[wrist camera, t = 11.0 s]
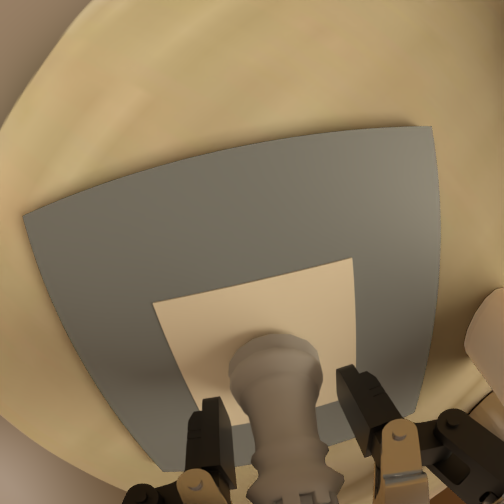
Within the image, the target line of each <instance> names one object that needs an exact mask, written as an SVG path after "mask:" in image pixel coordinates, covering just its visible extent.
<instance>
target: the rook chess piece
mask: <svg viewBox="0 0 504 504" xmlns="http://www.w3.org/2000/svg"><path fill="white" fill-rule="evenodd" d="M228 376H229V378H230V390H231V393H232V395H233V397H234V398H235V400H236V402H237V404H238V405H240V407H241V408H242V410H243V412H244V413H245V414H246V415H248V417H249V421H250V425H251V429H252V433H253V437H254V441H255V453H254V454H253V455H252V457H251V464H252V465H253V466H254V468H255V469H257V470H258V474H259V476H258V478H257V480H256V481H255V482H254V483H253V485H252V486H251V487H250V488H249V489H248V491H247V494H246V498H247V499H249V500H250V501H251V502H252V503H253V504H339V503H338V499H337V494H338V492H339V491H340V489H341V487H342V485H343V483H344V476H343V475H342V474H340V473H338V472H337V471H335V470H333V469H332V468H330V467H328V466H327V465H326V463H325V457H326V455H327V453H328V451H329V449H328V446H327V444H326V443H324V442H322V441H320V438H319V434H318V428H317V418H316V408H315V407H316V402H317V400H318V397H319V394H320V393H319V392H320V389H321V386H322V383H323V372H322V368H321V364H320V360H319V356H318V352H317V350H316V349H315V348H314V347H313V346H312V345H311V344H310V343H309V342H308V341H307V340H305V339H302V338H299V337H296V336H294V335H291V334H268V335H265V336H261V337H258V338H255V339H252V340H251V341H249V342H248V343H246V344H245V345H244V346H242V347H241V348H239V349H238V350H237V351H236V352H235V354H234V356H233V357H232V359H231V360H230V362H229V372H228Z"/></svg>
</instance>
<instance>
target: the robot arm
mask: <svg viewBox="0 0 504 504" xmlns="http://www.w3.org/2000/svg"><path fill="white" fill-rule="evenodd" d="M336 392H337V397H338V401H339V404H340V406H341V408H342V410H343V412H344V414H345V416H346V419H347V421H348V423H349V425H350V427H351V429H352V431H353V434H354V436H355V438H356V440H357V442H358V444H359V446H360V449H361V451H362V453H363V455H364V457H365V458H366V457H368V456H371V455H372V457H373V459H374V461H375V463H374V485H373V502H372V504H429V487H428V477H427V474H426V473H425V472H423V470H422V466H426V467H427V468H428V469H429V470H430V471H431V472H432V473H434V474H435V475H436V476H437V477H438V478H439V479H440V480H441V481H442V482H443V483H444V484H445V485H446V486H448V487H449V488H450V489H451V490H452V491H453V492H454V493H455V494H457V496H459V497H460V498H461V499H462V500H463V501H464V502H465V503H466V504H504V406H503V405H502V403H501V401H500V400H499V399H498V397H497V396H496V394H495V393H494V391H493V392H492V393H491V394H490V395H488V396H487V397H486V398H485V399H484V400H483V401H482V402H481V403H480V404H479V405H478V406H477V407H476V408H475V409H474V410H473V411H472V412H471V413H470V414H469V415H467V414H466V413H465V412H463V411H462V410H459V409H448V410H445V411H444V412H442V413H441V414H440V415H439V417H438V419H437V420H432V421H427V422H422V423H414V422H412V421H410V420H407V419H404V418H403V417H402V416H401V414H400V413H399V411H398V410H397V408H396V406H395V405H394V403H393V402H392V400H391V399H390V397H389V396H388V394H387V393H386V392H385V390H384V388H383V387H382V386H381V384H380V382H379V381H378V379H377V378H376V376H374V375H372V374H371V373H369V372H368V371H365V372H362V373H359V372H358V371H357V369H356V367H355V366H354V365H353V364H350V365H347V366H344V367H341V368H338V369H336ZM187 431H188V432H187V443H186V459H185V470H184V473H182V474H181V475H180V476H179V478H178V480H177V481H175V482H173V483H171V484H168V485H164V486H161V487H157V488H154V487H152V486H151V485H148V484H137V485H134V486H133V487H131V488H130V489H129V490H128V492H127V493H126V496H125V498H124V500H123V502H122V504H233V503H232V501H231V500H230V490H231V489H237V485H236V474H235V462H234V450H233V437H232V426H231V421H230V418H229V415H228V413H227V411H226V409H225V406H224V404H223V401H222V399H221V397H220V396H218V397H212V398H205V399H203V400H202V411H194V412H193V413H192V415H191V417H190V419H189V420H188V430H187Z"/></svg>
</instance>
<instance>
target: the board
mask: <svg viewBox="0 0 504 504" xmlns="http://www.w3.org/2000/svg"><path fill="white" fill-rule="evenodd" d="M23 220H24V223H25V227H26V230H27V234H28V237H29V241H30V244H31V247H32V250H33V253H34V256H35V259H36V262H37V265H38V267H39V270H40V273H41V276H42V278H43V281H44V283H45V286H46V288H47V291H48V293H49V296H50V298H51V300H52V303H53V305H54V307H55V309H56V312H57V314H58V316H59V318H60V320H61V322H62V324H63V327H64V329H65V331H66V333H67V335H68V337H69V338H70V340H71V342H72V344H73V346H74V348H75V350H76V352H77V353H78V355H79V357H80V359H81V361H82V362H83V364H84V366H85V368H86V369H87V371H88V373H89V374H90V376H91V378H92V379H93V381H94V382H95V384H96V386H97V387H98V389H99V390H100V392H101V393H102V395H103V396H104V398H105V399H106V401H107V402H108V404H109V405H110V407H111V408H112V409H113V411H114V412H115V414H116V415H117V416H118V418H119V419H120V420H121V422H122V423H123V425H124V426H125V427H126V428H127V430H128V431H129V432H130V434H131V435H132V436H133V437H134V439H135V440H136V441H137V442H138V444H139V445H140V446H141V447H142V448H143V450H144V451H145V452H146V453H147V454H148V455H149V457H150V458H151V459H152V460H153V461H154V462H155V463H156V464H157V466H158V467H159V468H160V469H161V470H162V471H163V472H178V471H184V470H185V459H186V443H187V432H188V431H187V430H188V420H189V419H190V417H191V415H192V413H193V412H194V411H202V400H203V399H205V398H212V397H218V396H220V397H221V399H222V401H223V404H224V406H225V409H226V411H227V413H228V415H229V418H230V421H231V426H232V437H233V450H234V462H235V467H237V466H244V465H250V464H251V457H252V455H253V454H254V453H255V441H254V437H253V433H252V429H251V425H250V421H249V417H248V415H246V414H245V413H244V412H243V410H242V408H241V407H240V405H238V404H237V402H236V400H235V398H234V397H233V395H232V393H231V390H230V378H229V376H228V372H229V362H230V360H231V359H232V357H233V356H234V354H235V352H236V351H237V350H238V349H239V348H241V347H242V346H244V345H245V344H246V343H248V342H249V341H251V340H252V339H255V338H258V337H261V336H265V335H268V334H291V335H294V336H296V337H299V338H302V339H305V340H307V341H308V342H309V343H310V344H311V345H312V346H313V347H314V348H315V349H316V350H317V352H318V356H319V360H320V364H321V368H322V372H323V383H322V386H321V389H320V392H319V393H320V394H319V397H318V400H317V402H316V407H315V408H316V418H317V428H318V434H319V438H320V441H322V442H324V443H326V444H327V446H331V445H334V444H337V443H340V442H343V441H346V440H349V439H352V438H355V436H354V434H353V431H352V429H351V427H350V425H349V423H348V421H347V419H346V416H345V414H344V412H343V410H342V408H341V406H340V404H339V401H338V397H337V392H336V369H338V368H341V367H344V366H347V365H350V364H353V365H354V366H355V367H356V369H357V371H358V372H359V373H362V372H365V371H368V372H369V373H371V374H372V375H374V376H376V378H377V379H378V381H379V382H380V384H381V386H382V387H383V388H384V390H385V392H386V393H387V394H388V396H389V397H390V399H391V400H392V402H393V403H394V405H395V406H396V408H397V410H398V411H399V413H400V414H401V416H402V417H403V418H404V417H406V416H408V415H410V414H412V413H414V412H415V409H416V405H417V402H418V398H419V394H420V391H421V387H422V383H423V379H424V374H425V370H426V365H427V361H428V356H429V351H430V345H431V340H432V334H433V327H434V320H435V313H436V304H437V295H438V284H439V269H440V243H441V221H440V195H439V180H438V169H437V160H436V152H435V144H434V138H433V131H432V126H411V127H387V128H371V129H358V130H347V131H337V132H328V133H320V134H312V135H305V136H298V137H291V138H285V139H278V140H272V141H267V142H261V143H256V144H250V145H245V146H240V147H235V148H230V149H226V150H221V151H217V152H212V153H208V154H204V155H199V156H195V157H191V158H187V159H183V160H180V161H176V162H172V163H168V164H165V165H161V166H158V167H154V168H151V169H147V170H144V171H141V172H137V173H134V174H131V175H128V176H125V177H122V178H119V179H116V180H113V181H110V182H107V183H104V184H101V185H98V186H95V187H92V188H90V189H87V190H84V191H82V192H79V193H76V194H74V195H71V196H69V197H66V198H63V199H61V200H58V201H56V202H54V203H51V204H49V205H46V206H44V207H42V208H39V209H37V210H35V211H33V212H30V213H28V214H26V215H24V216H23Z"/></svg>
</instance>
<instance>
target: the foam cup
mask: <svg viewBox="0 0 504 504" xmlns="http://www.w3.org/2000/svg"><path fill="white" fill-rule="evenodd" d="M464 347H465V351H466V354H467V355H469V358H470V359H471V361H472V362H473V363H474V365H475V366H476V367H477V369H478V370H479V371H480V373H481V374H482V376H483V377H484V378H485V380H486V381H487V383H488V384H489V385H490V387H491V388H492V390H493V391H494V393H495V394H496V396H497V397H498V399H499V400H500V401H501V403H502V405H503V406H504V288H499V289H495V290H494V291H493V292H492V293H491V294H490V295H489V296H487V297H486V298H485V300H484V301H483V302H482V304H481V305H480V307H479V308H478V310H477V311H476V312H475V314H474V316H473V318H472V321H471V323H470V325H469V327H468V329H467V333H466V337H465V342H464Z"/></svg>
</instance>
